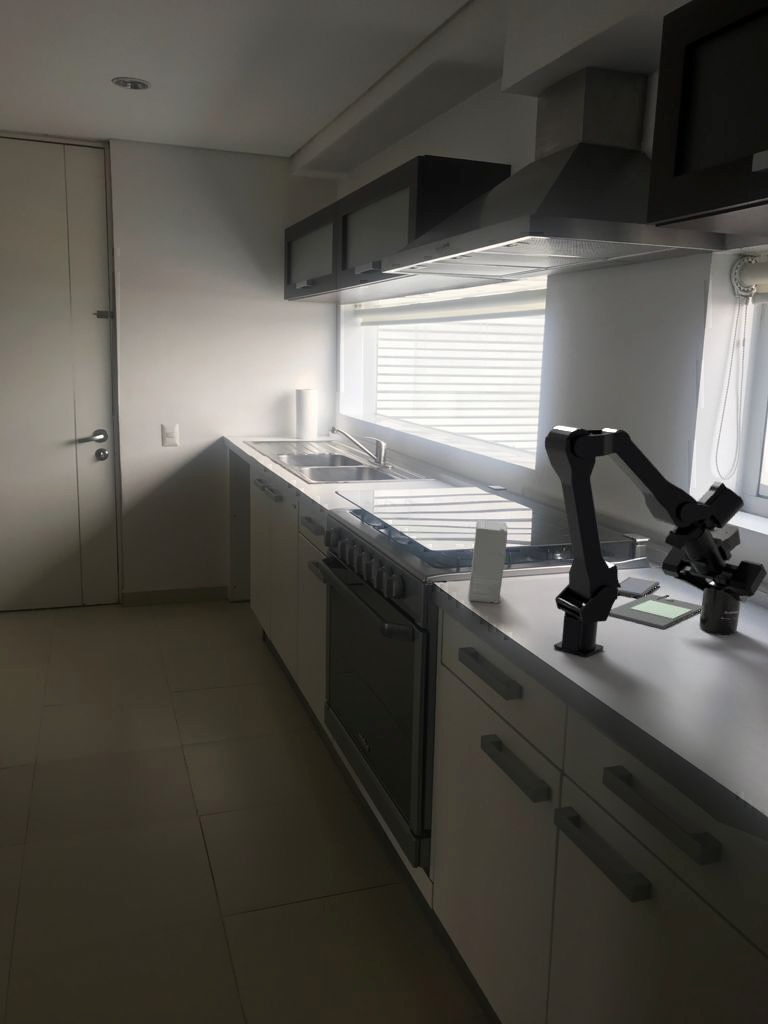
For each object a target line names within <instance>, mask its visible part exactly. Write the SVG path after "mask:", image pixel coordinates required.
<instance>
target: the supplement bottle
mask: <svg viewBox="0 0 768 1024" xmlns="http://www.w3.org/2000/svg"><path fill="white" fill-rule="evenodd" d="M729 583H730V577H726V576H722V575H718V576H716V578H715V579H714V580H711V579H709V580H707V582H706V584H705V585H704V591H702V592H703V593H702V598H701V600H702V601H701V606H702V607H701V611H700V615H699V623H698V624H699V627H700V629H702V630H703V631H705V632H708V633H711V634H714V635H715V634H716V635H721V636H722V635H723V636H727V635H728V636H729V635H734V634H736V633H737V631H738V630H737V629H738V626H739V625H738V624H739V617H740V611H741V603H742V602H741V601H740V600H738V599H737V598H736V597H734V596H733V595H731V594H730V593H729V590H730V587H729Z"/></svg>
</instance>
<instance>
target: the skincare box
mask: <svg viewBox="0 0 768 1024" xmlns="http://www.w3.org/2000/svg"><path fill="white" fill-rule="evenodd" d="M475 526H476V527H475V535H474V544H473V553H472V561H471V570H470V576H469V585H468V600H469V601H470V602H483V603H490V602H494V603H493V604H495V603H496V604H499V603H500V597H501V591H502V590H501V589H502V583H503V582H502V581H503V576H504V570H505V569H504V567H505V561H506V552H507V544H508V543H507V542H508V541H507V540H508V528H509V526H508V525H507V522H506V521H505V522H503V521H495V520H486V519H477V520H476V525H475Z"/></svg>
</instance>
